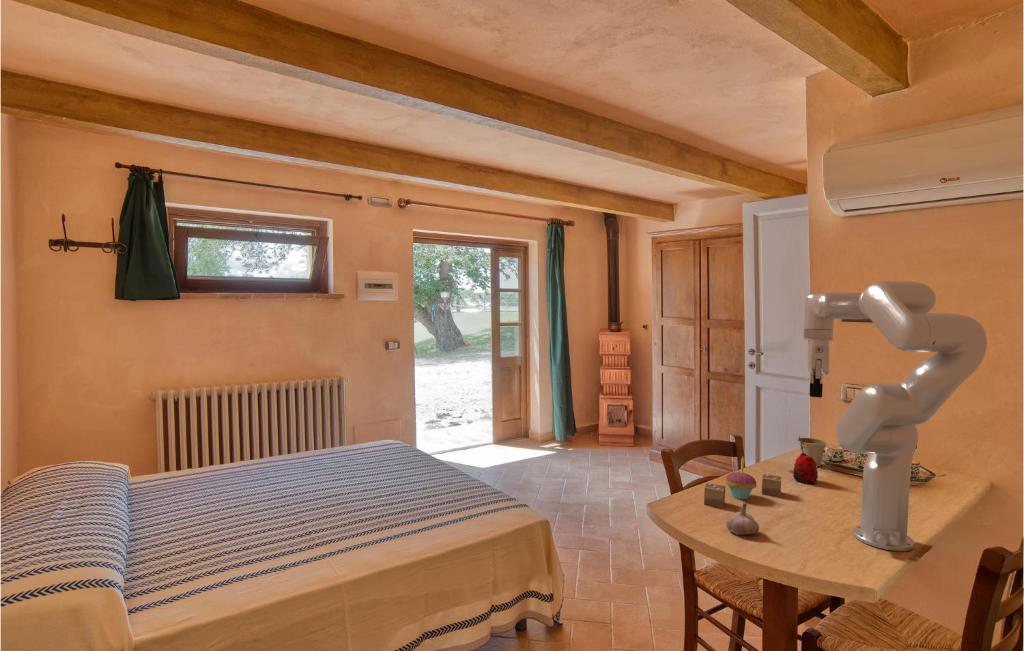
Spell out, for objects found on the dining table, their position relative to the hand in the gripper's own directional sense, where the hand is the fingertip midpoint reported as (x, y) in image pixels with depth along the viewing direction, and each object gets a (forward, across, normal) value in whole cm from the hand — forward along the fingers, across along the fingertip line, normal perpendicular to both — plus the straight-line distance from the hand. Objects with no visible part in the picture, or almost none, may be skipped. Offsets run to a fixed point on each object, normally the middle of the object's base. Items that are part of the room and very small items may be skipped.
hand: (815, 396), depth 161 cm
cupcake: (+31, -9, +19) cm, 37 cm away
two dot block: (+31, -1, +11) cm, 33 cm away
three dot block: (+31, -18, +26) cm, 44 cm away
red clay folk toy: (+31, +16, +1) cm, 35 cm away
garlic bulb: (+31, -36, +18) cm, 51 cm away
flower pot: (+30, +38, -2) cm, 49 cm away
